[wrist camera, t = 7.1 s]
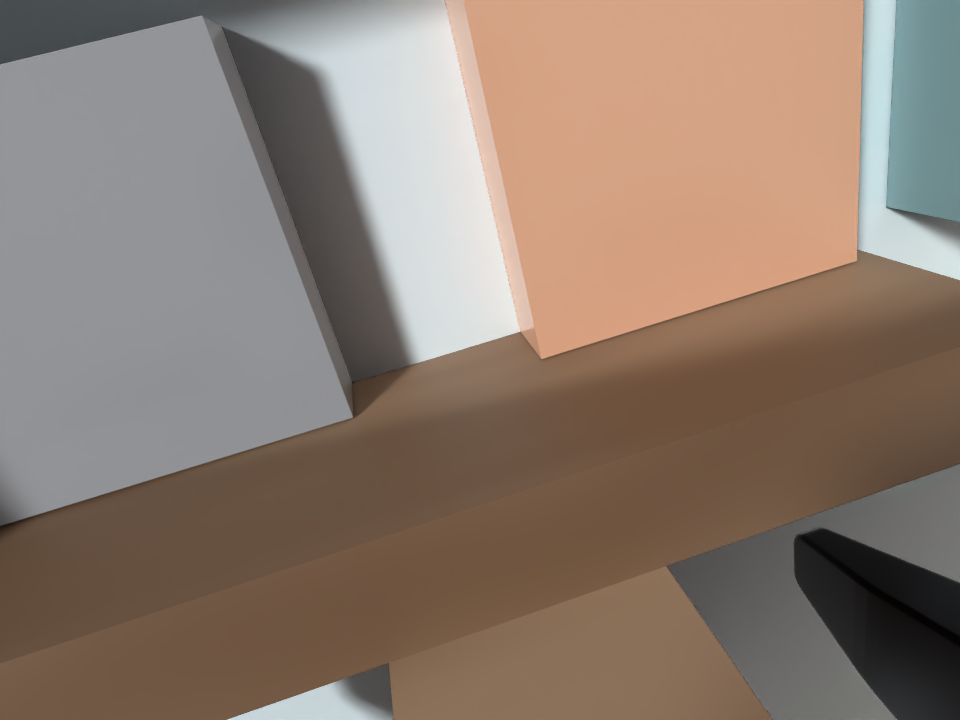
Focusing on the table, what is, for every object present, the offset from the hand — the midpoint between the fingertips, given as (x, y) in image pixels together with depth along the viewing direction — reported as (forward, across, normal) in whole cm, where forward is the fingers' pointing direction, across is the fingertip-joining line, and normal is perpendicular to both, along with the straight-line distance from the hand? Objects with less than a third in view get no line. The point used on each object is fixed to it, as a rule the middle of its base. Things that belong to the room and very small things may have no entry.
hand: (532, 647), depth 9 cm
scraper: (+2, 0, +1) cm, 2 cm away
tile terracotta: (+2, -3, -7) cm, 8 cm away
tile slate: (+2, +4, -7) cm, 8 cm away
